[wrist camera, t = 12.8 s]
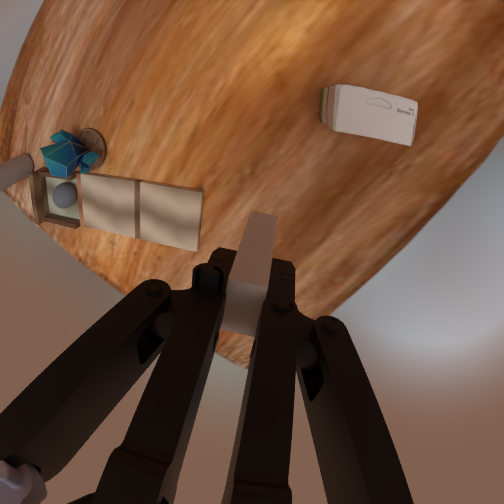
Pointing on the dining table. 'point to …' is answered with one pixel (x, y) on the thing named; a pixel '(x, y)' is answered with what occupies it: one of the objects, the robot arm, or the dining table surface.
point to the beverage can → (15, 170)
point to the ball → (64, 195)
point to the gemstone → (74, 152)
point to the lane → (122, 207)
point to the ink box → (369, 113)
